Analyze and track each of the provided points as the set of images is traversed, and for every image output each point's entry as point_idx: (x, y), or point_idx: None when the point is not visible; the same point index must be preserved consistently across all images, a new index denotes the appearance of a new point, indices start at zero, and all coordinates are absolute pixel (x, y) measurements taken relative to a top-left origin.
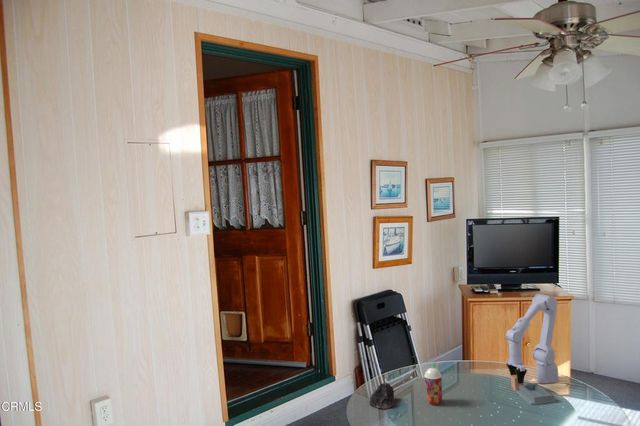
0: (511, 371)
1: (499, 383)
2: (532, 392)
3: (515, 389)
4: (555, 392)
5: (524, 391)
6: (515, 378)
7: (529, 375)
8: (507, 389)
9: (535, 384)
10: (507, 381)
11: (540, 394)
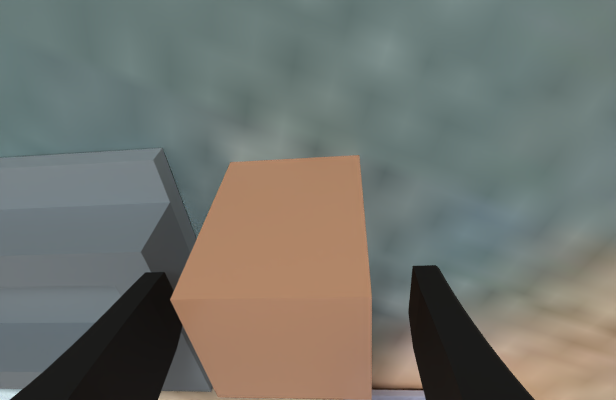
0: (450, 388)
1: (578, 19)
2: (110, 287)
3: (228, 168)
4: (169, 391)
5: (2, 235)
6: (175, 310)
7: (571, 384)
8: (276, 65)
9: (174, 380)
10: (570, 171)
11: (69, 320)
